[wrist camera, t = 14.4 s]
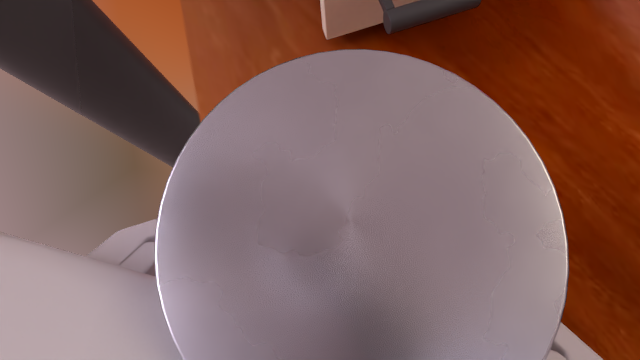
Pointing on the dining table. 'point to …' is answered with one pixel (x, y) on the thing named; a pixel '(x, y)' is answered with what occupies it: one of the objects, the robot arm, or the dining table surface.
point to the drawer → (385, 14)
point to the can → (360, 221)
